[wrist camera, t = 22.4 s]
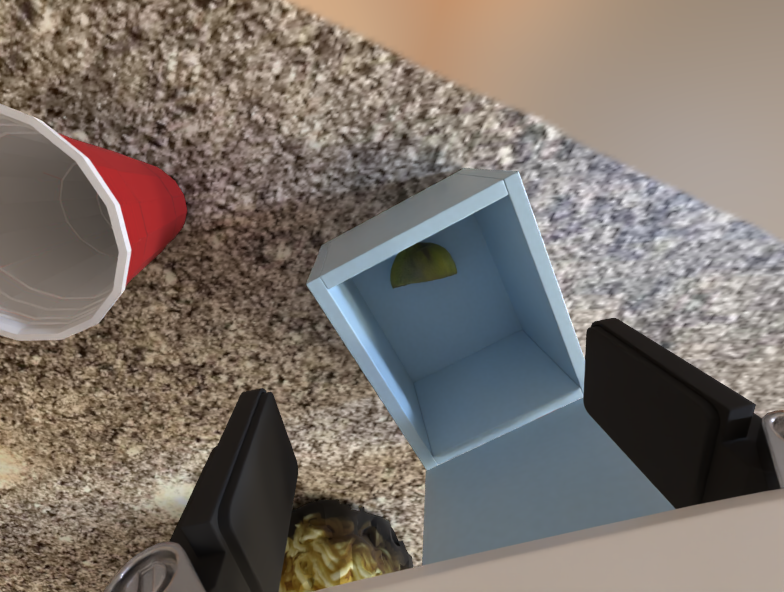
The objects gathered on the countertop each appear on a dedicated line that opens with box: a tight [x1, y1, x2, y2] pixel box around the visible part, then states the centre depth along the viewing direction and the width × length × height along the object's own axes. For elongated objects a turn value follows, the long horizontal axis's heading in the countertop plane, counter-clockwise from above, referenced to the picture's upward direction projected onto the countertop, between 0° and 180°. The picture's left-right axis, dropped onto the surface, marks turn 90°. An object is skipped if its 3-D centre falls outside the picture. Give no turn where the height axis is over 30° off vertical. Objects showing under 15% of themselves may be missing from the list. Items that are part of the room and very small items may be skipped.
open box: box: [306, 168, 585, 470], centre depth 27 cm, size 16×13×10 cm
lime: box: [390, 242, 457, 289], centre depth 27 cm, size 4×5×5 cm
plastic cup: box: [0, 104, 187, 341], centre depth 21 cm, size 11×11×12 cm
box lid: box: [422, 398, 675, 566], centre depth 16 cm, size 17×13×5 cm
